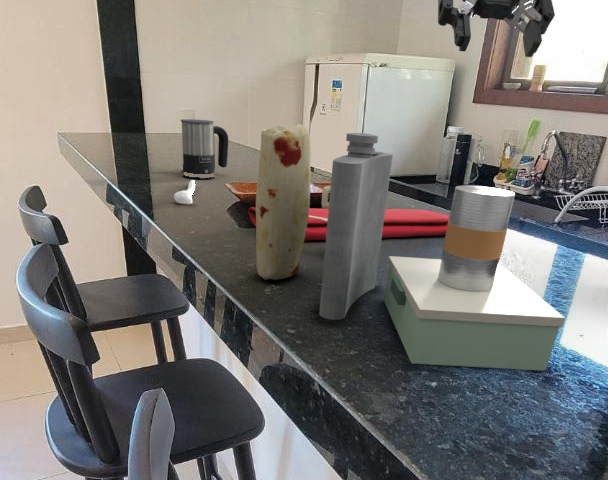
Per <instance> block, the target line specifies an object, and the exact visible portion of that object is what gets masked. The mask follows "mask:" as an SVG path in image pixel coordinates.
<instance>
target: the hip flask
mask: <svg viewBox="0 0 608 480" xmlns="http://www.w3.org/2000/svg"><path fill="white" fill-rule="evenodd" d="M378 140H379V135H375V134H371V133H367V132H347V133H346V136H345V141H346V142H348V145H347V146H346V152H347V154H346V155H341V156H339V157H335V158H334V159H333V160H332V167H331V168H332V169H331V179H330V186H331V189H330V193H329V199H328V202H329V208H328V209H329V211H328V222H327V234H326V240H325V247H324V256H323V268H322V278H321V291H320V301H319V302H320V303H319V311H318V312H319V313H318V314H319V316H320V317H321V318H323V319H326V320H331V321H340V320H343V319H345V318H346V317H347V313H348V311H349V309H350V308H351V307H352V305H353V304H354V303H355V302H356V301H357V300H358V299H360V297H361V296H363V295H365V294H366V293H368V292H370V291H371V290H373V289H375V288H376V282H377V281H376V280H377V273H378V266H379V258H380V252H381V244H382V239H383V238H382V231H383V223H384V216H385V209H387V208H386V207H387V200H388V193H389V186H390V179H391V171H392V164H393V157H394V156H393V153H389V152H381V151H376V148H375V147H374V145H375V144H378Z"/></svg>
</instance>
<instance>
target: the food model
mask: <svg viewBox="0 0 608 480" xmlns="http://www.w3.org/2000/svg"><path fill="white" fill-rule="evenodd" d="M260 134H261V136H260V148H259V149H260V150H259V159H258V160H259V161H258V173H257V174H258V175H257V184H256V191H255V207H256V227H255V228H256V229H255V231H256V232H255V233H256V234H255V235H256V237H255V238H256V239H255V240H256V241H255V243H256V244H255V245H256V247H255V249H256V252H255V253H256V270H257V275H258V276H259V277H261V278H262V279H264V280H265V281H266V280H267V281H268V280H273V281H279V280H282V279H286V278H287V279H288V278H289V277H292V276H294V275H295V274H296V273H297V272H299V269H300V265H301V258H302V252H303V248H304V242H305V241H304V238H305V233H306V228H307V222H308V217H309V208H311V207H310V206H311V176H312V175H311V156H312V155H311V152H312V151H311V132H310V131H309V129H308V128H307V127H305V126H304V125H303V124H301V123H298V124H294V125H291V126H281V125H274V126H272V127H269V128H267V129H265V128H263V129H262V131H261V133H260Z"/></svg>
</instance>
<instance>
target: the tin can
mask: <svg viewBox="0 0 608 480" xmlns="http://www.w3.org/2000/svg"><path fill="white" fill-rule="evenodd" d="M515 196H516V193H515V192H513V191H510V190H506V189H503V188H497V187H491V186H490V187H489V186H483V185H471V184H470V185H469V184H468V185H466V184H465V185H463V184H462V185H457V186H455V187H454V193H453V197H452V202H451V207H450V214H449V216H450V218H449V221H448V226H447V231H446V235H444V241H443V249H442V255H441V258H440V259H441V264H440V270H439V275H438V280H439V282H441V283H442V284H444V285H446V286H449V287H451V288H455V289H459V290H465V291H475V292H480V291H488V290H490V289H492V287H493V284H494V279H495V275H496V271H497V267H498V263H500V258H501V256H502V252H503V248H504V245H505V241H506V236H507V232H508V225H509V221H510V217H511V214H512V209H513V206H514V201H515V198H516V197H515Z"/></svg>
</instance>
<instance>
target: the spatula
mask: <svg viewBox="0 0 608 480" xmlns="http://www.w3.org/2000/svg"><path fill="white" fill-rule="evenodd" d="M195 181H196V179H191V180H190V181H189V182H188V185H187V189H186V190H180V191H176V192H175V193H174V195H173V199H174V201H175V202H176V203H177V204H179V205H183V206H188V205H191V204H193V200H194V199H193V196H194V194H195V193H194V191H195V192H196V185H197V183H196V184H195ZM193 193H194V194H193ZM192 195H193V196H192Z"/></svg>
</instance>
